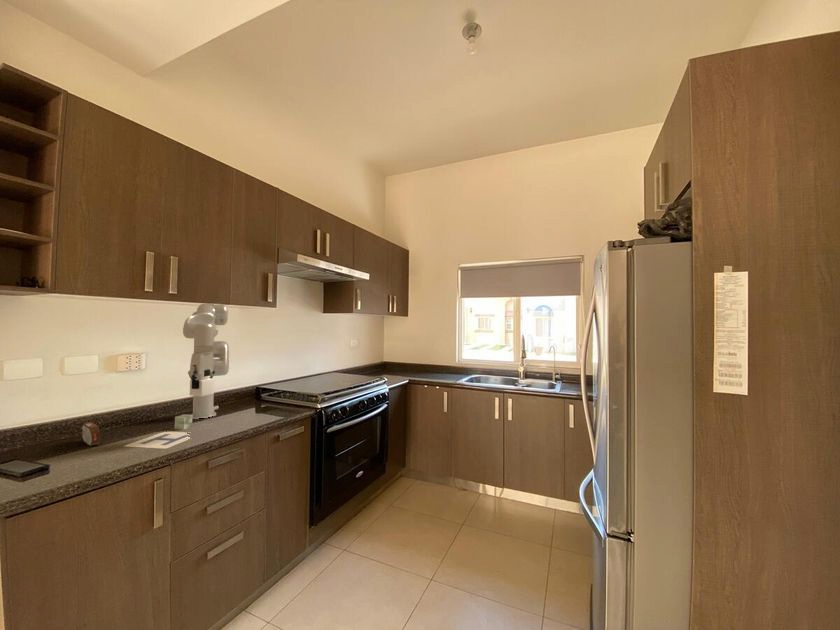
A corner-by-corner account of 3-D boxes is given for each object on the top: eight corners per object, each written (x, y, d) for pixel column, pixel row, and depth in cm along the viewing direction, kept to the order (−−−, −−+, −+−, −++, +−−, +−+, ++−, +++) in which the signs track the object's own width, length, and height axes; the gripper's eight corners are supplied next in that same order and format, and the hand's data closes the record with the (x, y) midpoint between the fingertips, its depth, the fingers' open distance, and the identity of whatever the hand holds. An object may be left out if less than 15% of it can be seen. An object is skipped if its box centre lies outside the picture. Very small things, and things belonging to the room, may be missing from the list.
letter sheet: (165, 431, 159) (165, 431, 159) (203, 433, 156) (203, 433, 156) (123, 446, 139) (123, 446, 139) (166, 448, 136) (166, 448, 136)
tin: (100, 446, 139) (101, 425, 139) (90, 448, 136) (91, 427, 137) (90, 439, 147) (90, 420, 148) (80, 441, 145) (81, 421, 145)
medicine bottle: (203, 392, 161) (203, 367, 161) (214, 393, 159) (215, 368, 159) (189, 395, 154) (190, 369, 154) (201, 396, 152) (202, 370, 152)
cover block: (182, 426, 167) (183, 414, 167) (192, 427, 166) (192, 414, 167) (174, 429, 162) (174, 417, 162) (183, 430, 162) (184, 417, 162)
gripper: (209, 348, 166) (208, 383, 165) (181, 350, 149) (179, 390, 148) (223, 348, 165) (222, 384, 165) (196, 351, 148) (195, 390, 147)
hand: (202, 386), depth 156 cm, fingers closed on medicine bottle, 7 cm apart
